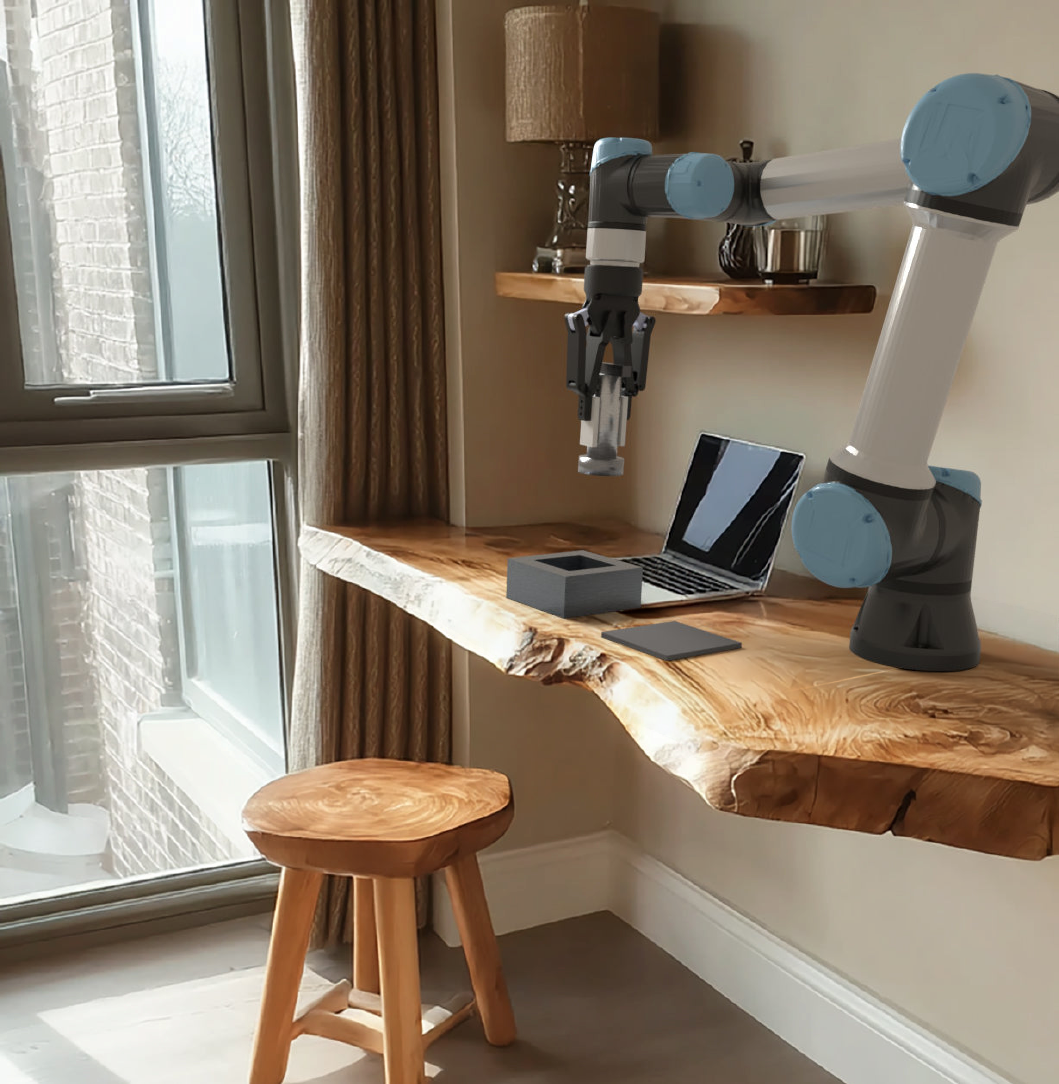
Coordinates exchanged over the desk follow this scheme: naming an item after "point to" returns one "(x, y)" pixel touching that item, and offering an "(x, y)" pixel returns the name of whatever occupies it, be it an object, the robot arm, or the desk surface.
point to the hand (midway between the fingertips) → (602, 444)
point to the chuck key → (606, 424)
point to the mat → (671, 640)
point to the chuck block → (574, 583)
